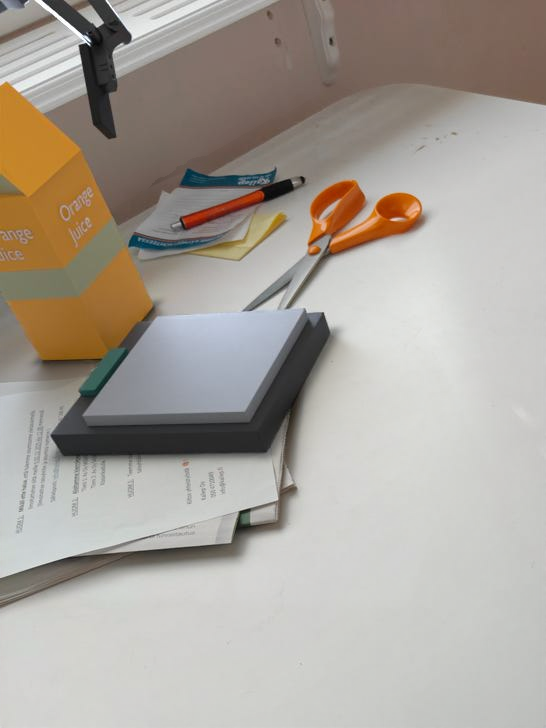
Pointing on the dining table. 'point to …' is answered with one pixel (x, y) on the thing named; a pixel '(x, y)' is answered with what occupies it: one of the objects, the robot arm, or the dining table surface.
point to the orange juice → (60, 242)
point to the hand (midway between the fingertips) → (29, 148)
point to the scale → (195, 384)
